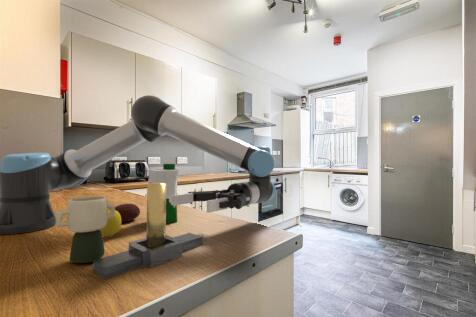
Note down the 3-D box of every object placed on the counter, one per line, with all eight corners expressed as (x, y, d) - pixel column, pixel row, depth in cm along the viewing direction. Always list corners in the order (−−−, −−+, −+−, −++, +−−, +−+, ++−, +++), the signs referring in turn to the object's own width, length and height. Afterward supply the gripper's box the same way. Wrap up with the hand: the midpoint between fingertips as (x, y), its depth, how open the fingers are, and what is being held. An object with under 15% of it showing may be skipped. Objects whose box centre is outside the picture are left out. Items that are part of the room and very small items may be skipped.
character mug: (107, 248, 56) (108, 194, 57) (121, 256, 52) (121, 197, 52) (50, 263, 48) (51, 199, 48) (60, 274, 43) (61, 203, 44)
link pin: (142, 256, 52) (143, 183, 52) (158, 251, 55) (159, 182, 55) (152, 261, 49) (153, 184, 50) (168, 255, 52) (170, 183, 53)
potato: (105, 223, 80) (106, 204, 80) (133, 217, 88) (133, 200, 88) (118, 226, 76) (118, 207, 76) (145, 219, 85) (145, 202, 85)
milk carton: (180, 221, 82) (181, 164, 82) (155, 226, 76) (155, 164, 76) (169, 217, 88) (170, 163, 89) (145, 221, 82) (145, 163, 83)
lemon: (111, 241, 62) (112, 210, 62) (93, 239, 63) (93, 209, 63) (125, 235, 67) (126, 206, 67) (108, 233, 68) (109, 205, 68)
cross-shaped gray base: (89, 268, 46) (89, 252, 46) (184, 238, 64) (184, 227, 64) (108, 283, 40) (109, 265, 40) (207, 246, 58) (207, 234, 58)
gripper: (276, 211, 68) (225, 227, 51) (214, 201, 84) (161, 211, 67) (276, 185, 68) (225, 192, 51) (214, 180, 84) (161, 185, 67)
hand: (189, 203), depth 59 cm, fingers open, 13 cm apart
